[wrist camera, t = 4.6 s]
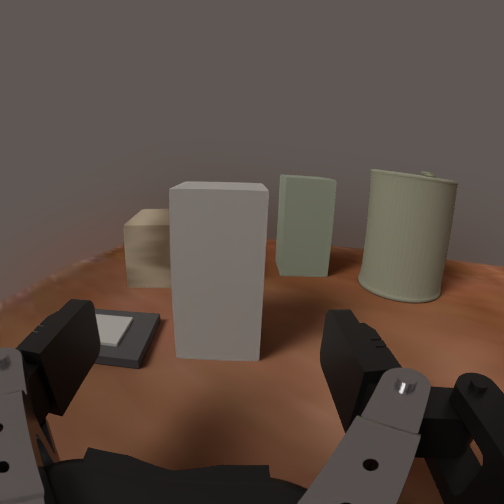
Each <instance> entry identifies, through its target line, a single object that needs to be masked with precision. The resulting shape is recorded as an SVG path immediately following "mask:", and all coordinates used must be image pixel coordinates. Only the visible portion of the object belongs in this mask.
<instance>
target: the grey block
mask: <svg viewBox="0 0 504 504" xmlns="http://www.w3.org/2000/svg"><path fill="white" fill-rule="evenodd" d="M268 195H269V191H268V190H267V189H266V187H265V186H264V185H263V184H262V183H235V182H184V183H182V184H179V185H177V186H175V187H172V188H170V189H169V201H170V202H169V219H170V261H171V285H172V304H173V319H174V333H175V346H176V357H177V358H187V359H205V360H230V361H259V354H260V338H261V322H262V306H263V289H264V271H265V253H266V235H267V213H268Z"/></svg>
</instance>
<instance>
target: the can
mask: <svg viewBox="0 0 504 504" xmlns="http://www.w3.org/2000/svg"><path fill="white" fill-rule="evenodd" d="M422 174H424V175H425V176H420V175H413V174H407V173H399V172H392V171H384V170H376V169H371V187H370V200H369V212H368V222H367V230H366V239H365V246H364V254H363V260H362V266H361V271H360V274H359V277H358V281H359V283H360V284H361V286H362V287H363V288H365V289H366V290H368V291H369V292H371V293H373V294H375V295H378V296H381V297H383V298H386V299H390V300H394V301H400V302H407V303H425V302H430V301H433V300H435V299H437V298H438V297H439V296H440V293H441V283H442V278H443V272H444V267H445V262H446V257H447V251H448V245H449V240H450V234H451V227H452V221H453V214H454V206H455V199H456V191H457V185H458V182H456V181H450V180H445V179H439V178H438V177H436V176H435V175H434V174H432V173H429V172H422Z"/></svg>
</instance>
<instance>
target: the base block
mask: <svg viewBox="0 0 504 504" xmlns="http://www.w3.org/2000/svg"><path fill="white" fill-rule="evenodd" d="M124 244H125V259H126V271H127V282H128V287H140V288H172V285H171V261H170V219H169V209H142V210H141V211H140V212H139V213H138V214H136V215H135V216H134V217H133V218H132V219H130V220H129V221H128V222H127V223H126V224H125V225H124Z"/></svg>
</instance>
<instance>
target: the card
mask: <svg viewBox="0 0 504 504" xmlns="http://www.w3.org/2000/svg"><path fill="white" fill-rule="evenodd" d="M95 314H96V320H97V326H98V331H99V336H100V343H101V346H100V353H99V356H98V358H97V359H96V361H95V363H98V364H105V365H113V366H120V367H129V368H138V369H139V368H140V365H141V363H142V361H143V359H144V356H145V354H146V352H147V349H148V347H149V345H150V343H151V340H152V338H153V336H154V334H155V331H156V329H157V327H158V325H159V322H160V314H155V313H140V312H127V311H115V310H103V309H95Z"/></svg>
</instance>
